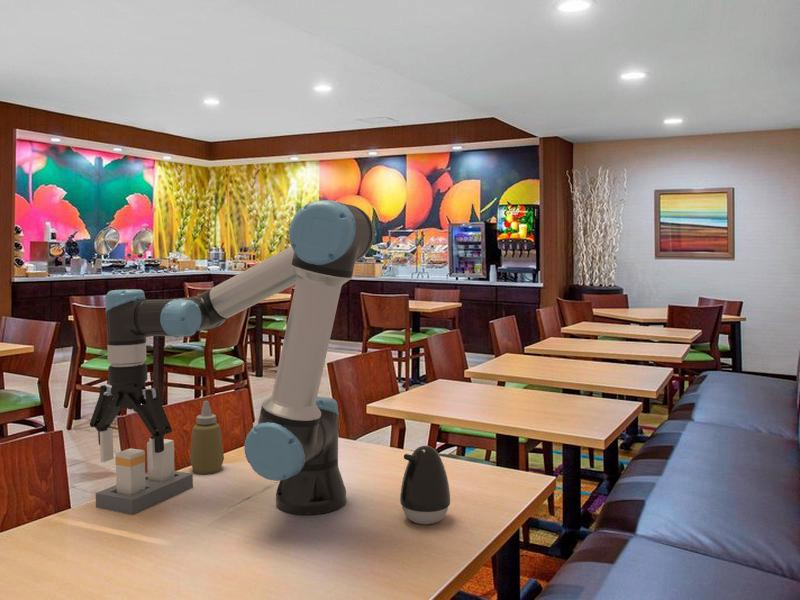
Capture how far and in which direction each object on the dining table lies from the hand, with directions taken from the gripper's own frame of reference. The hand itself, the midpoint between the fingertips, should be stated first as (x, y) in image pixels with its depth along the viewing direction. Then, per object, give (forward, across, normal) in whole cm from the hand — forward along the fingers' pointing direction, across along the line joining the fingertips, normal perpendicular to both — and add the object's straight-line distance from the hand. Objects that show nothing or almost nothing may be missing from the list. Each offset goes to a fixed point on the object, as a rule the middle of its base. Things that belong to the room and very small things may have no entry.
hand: (131, 464), depth 141 cm
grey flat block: (+9, 0, -4) cm, 10 cm away
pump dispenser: (+11, -58, -19) cm, 63 cm away
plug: (+8, 0, 0) cm, 8 cm away
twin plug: (+8, 0, -9) cm, 12 cm away
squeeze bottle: (+10, 0, -24) cm, 26 cm away
